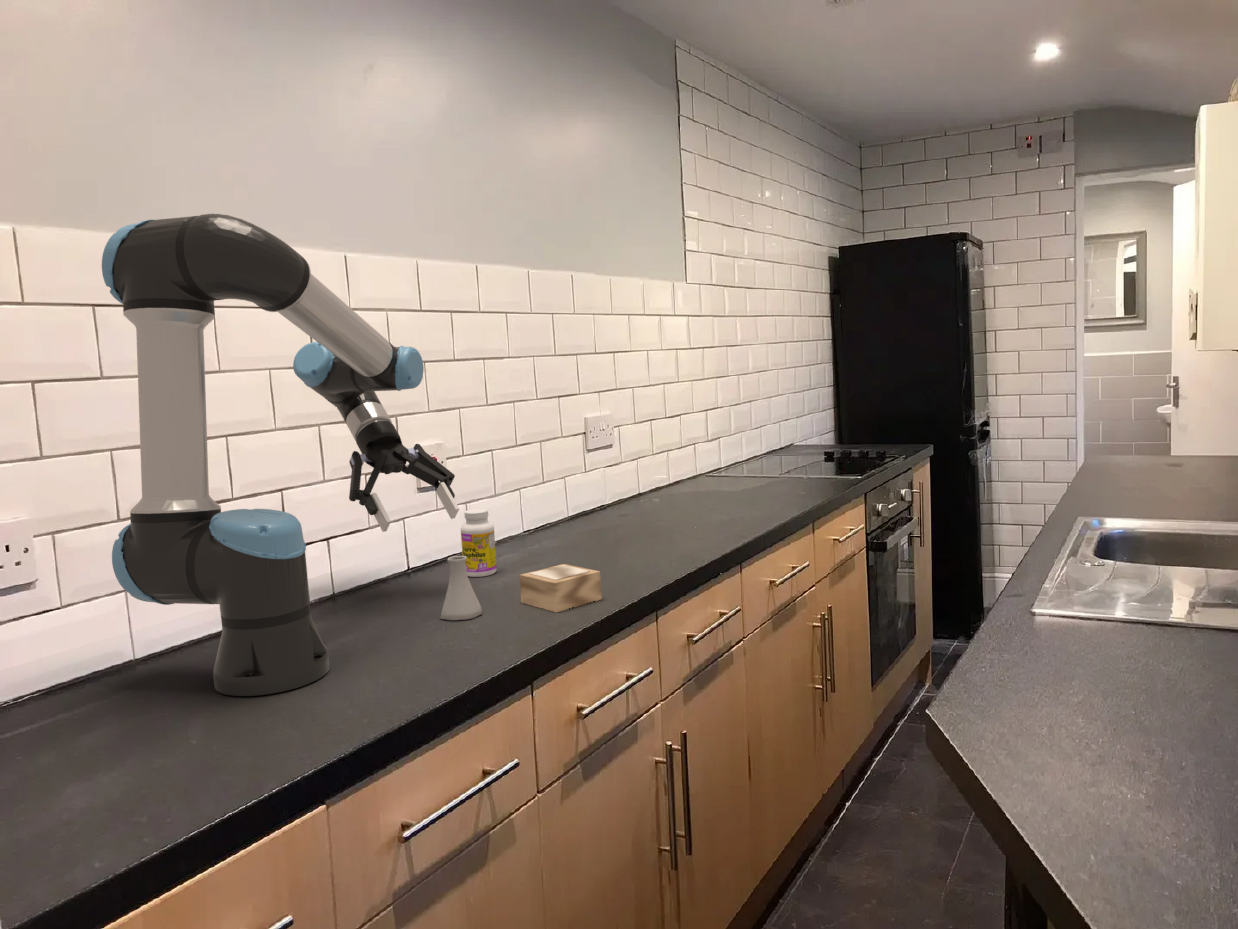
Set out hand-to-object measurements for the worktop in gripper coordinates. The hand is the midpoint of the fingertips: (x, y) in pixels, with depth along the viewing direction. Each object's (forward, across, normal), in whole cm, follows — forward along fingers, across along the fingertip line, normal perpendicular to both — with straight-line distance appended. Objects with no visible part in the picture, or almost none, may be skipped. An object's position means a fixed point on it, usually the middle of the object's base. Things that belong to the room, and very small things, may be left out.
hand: (422, 520), depth 160 cm
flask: (+18, 0, -3) cm, 19 cm away
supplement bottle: (+2, -19, -20) cm, 27 cm away
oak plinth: (+23, -16, +2) cm, 28 cm away
